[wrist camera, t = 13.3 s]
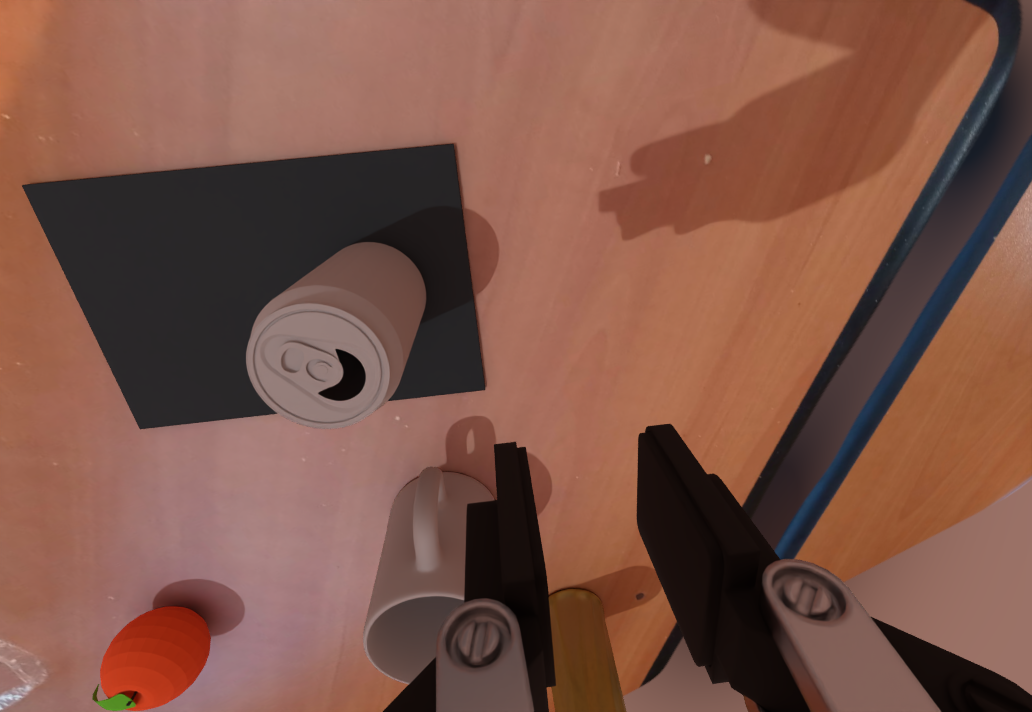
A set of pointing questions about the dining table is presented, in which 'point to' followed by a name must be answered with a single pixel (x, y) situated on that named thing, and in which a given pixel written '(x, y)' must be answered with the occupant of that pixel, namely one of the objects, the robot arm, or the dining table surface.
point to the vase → (582, 655)
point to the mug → (419, 571)
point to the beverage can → (338, 337)
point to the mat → (253, 267)
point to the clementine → (154, 659)
